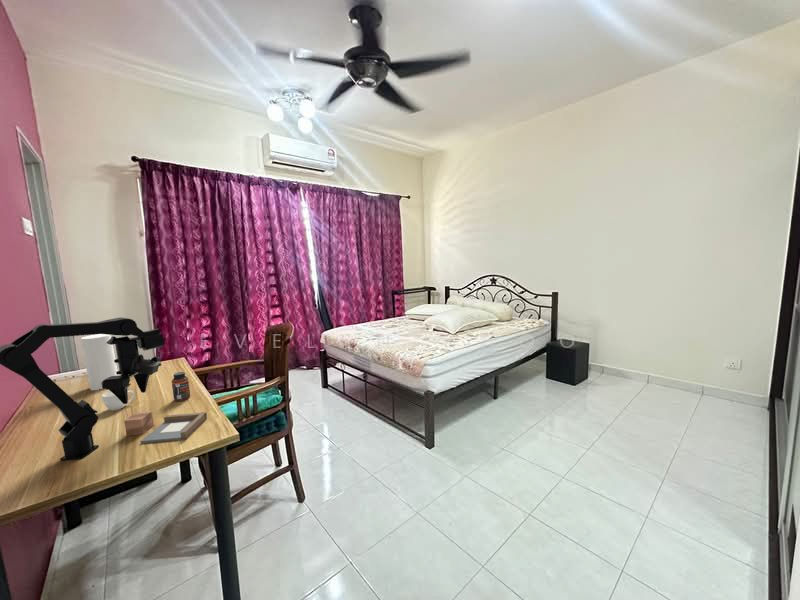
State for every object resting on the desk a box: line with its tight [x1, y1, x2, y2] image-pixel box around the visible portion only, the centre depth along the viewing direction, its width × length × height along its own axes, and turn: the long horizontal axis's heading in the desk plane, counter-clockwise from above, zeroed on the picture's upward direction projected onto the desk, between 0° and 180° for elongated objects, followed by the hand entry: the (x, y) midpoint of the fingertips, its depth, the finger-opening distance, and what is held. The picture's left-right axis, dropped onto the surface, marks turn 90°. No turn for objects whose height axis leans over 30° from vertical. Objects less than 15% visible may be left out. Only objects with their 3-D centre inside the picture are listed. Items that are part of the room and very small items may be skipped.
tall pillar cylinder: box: [80, 334, 119, 391], centre depth 159 cm, size 11×11×25 cm
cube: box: [123, 411, 155, 436], centre depth 115 cm, size 6×6×6 cm
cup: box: [101, 390, 136, 412], centre depth 134 cm, size 8×10×7 cm
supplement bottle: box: [171, 371, 191, 402], centre depth 140 cm, size 6×6×11 cm
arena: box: [140, 411, 208, 444], centre depth 114 cm, size 14×14×2 cm
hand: (134, 397), depth 114 cm, fingers open, 9 cm apart
